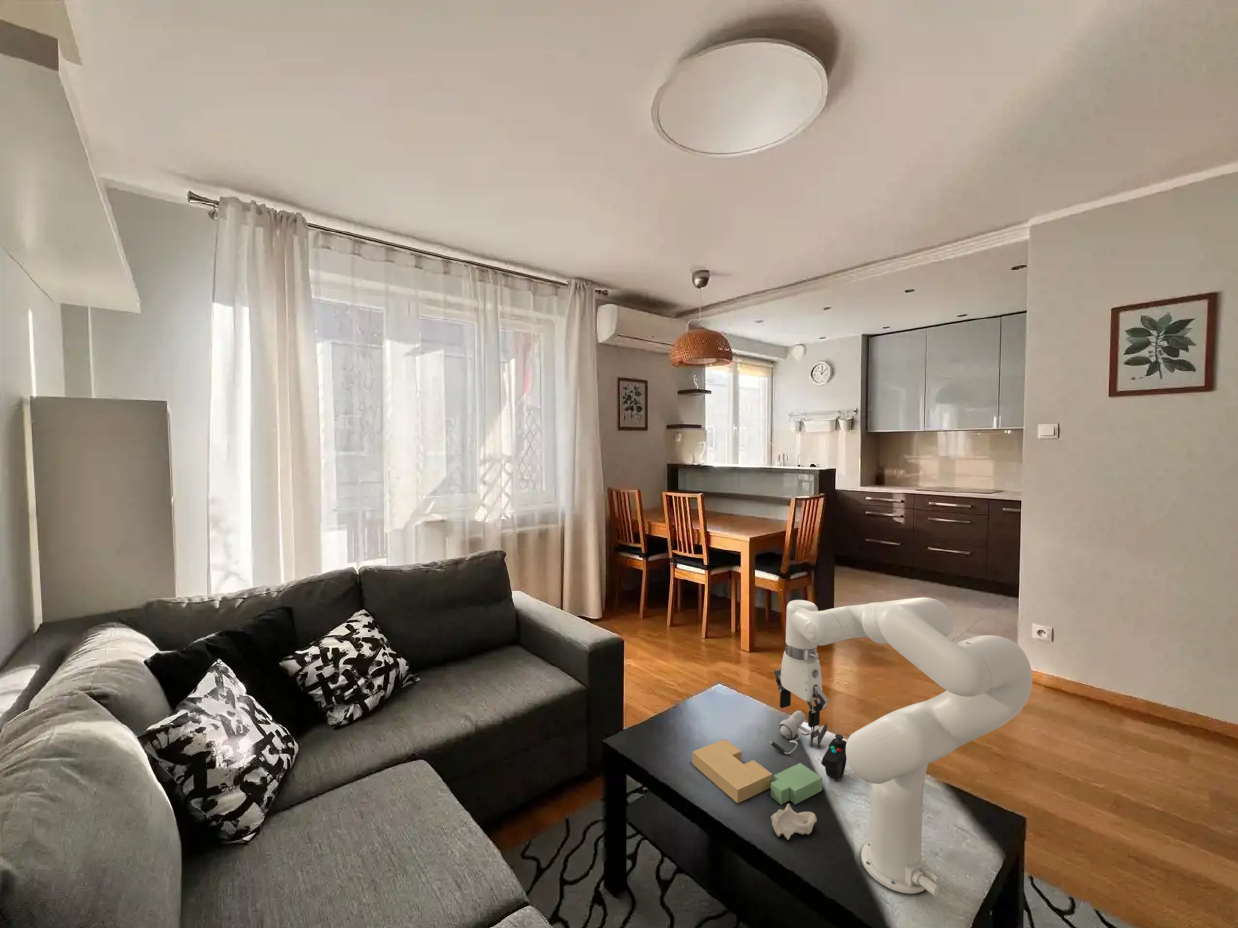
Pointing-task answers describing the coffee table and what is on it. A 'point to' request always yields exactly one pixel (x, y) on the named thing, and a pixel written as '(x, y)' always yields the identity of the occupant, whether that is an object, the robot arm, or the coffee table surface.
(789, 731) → the clip-on lamp
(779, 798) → the green pad
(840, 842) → the coffee table surface
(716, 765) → the sand pad
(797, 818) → the coral
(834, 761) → the controller
